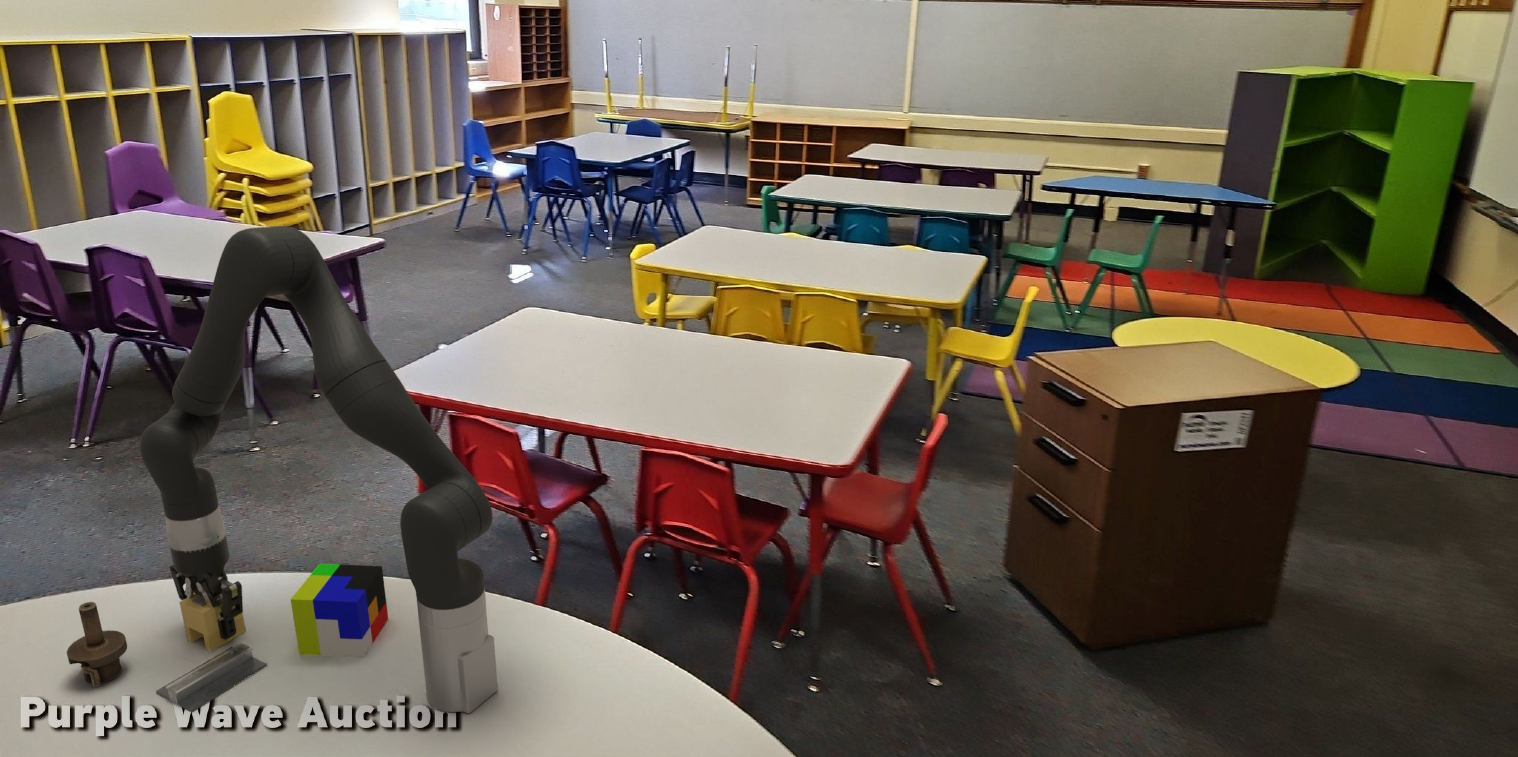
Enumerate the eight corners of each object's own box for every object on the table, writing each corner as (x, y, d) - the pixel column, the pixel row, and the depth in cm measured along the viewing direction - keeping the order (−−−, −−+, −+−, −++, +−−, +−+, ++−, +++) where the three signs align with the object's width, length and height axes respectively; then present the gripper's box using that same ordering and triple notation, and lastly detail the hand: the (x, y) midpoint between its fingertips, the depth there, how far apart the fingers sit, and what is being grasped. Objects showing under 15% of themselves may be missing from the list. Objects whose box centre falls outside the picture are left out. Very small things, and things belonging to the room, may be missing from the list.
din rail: (266, 665, 150) (264, 653, 149) (191, 712, 140) (189, 699, 139) (231, 649, 153) (229, 637, 152) (156, 693, 143) (153, 680, 143)
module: (245, 631, 158) (238, 591, 155) (210, 651, 153) (202, 611, 150) (222, 620, 160) (215, 581, 157) (187, 640, 155) (179, 600, 152)
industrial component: (101, 696, 142) (84, 625, 138) (60, 687, 144) (41, 616, 140) (153, 656, 151) (138, 589, 147) (114, 648, 152) (97, 581, 148)
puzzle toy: (364, 657, 153) (356, 602, 149) (299, 654, 153) (290, 599, 149) (388, 619, 162) (382, 566, 158) (327, 616, 162) (319, 563, 158)
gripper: (251, 538, 150) (267, 632, 156) (190, 513, 156) (208, 605, 162) (205, 560, 144) (223, 658, 150) (143, 534, 150) (163, 628, 156)
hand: (215, 630), depth 156 cm, fingers closed on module, 5 cm apart
